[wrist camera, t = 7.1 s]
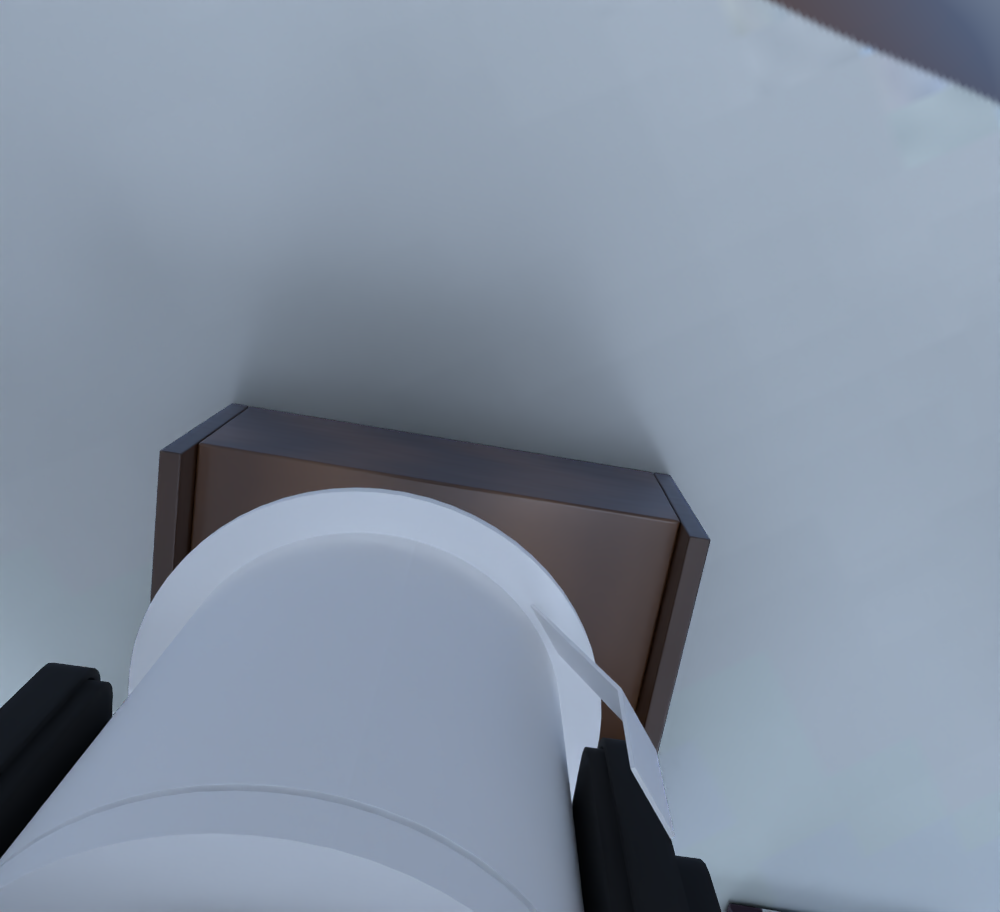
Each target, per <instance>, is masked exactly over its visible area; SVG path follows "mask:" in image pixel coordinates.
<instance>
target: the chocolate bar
mask: <svg viewBox="0 0 1000 912" xmlns="http://www.w3.org/2000/svg"><path fill="white" fill-rule="evenodd" d="M727 912H779V911H773V910H767V909H761V908H755V907H749V906H743V905H737V904H731V903H729V906H728V909H727Z"/></svg>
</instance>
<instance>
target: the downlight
mask: <svg viewBox="0 0 1000 912" xmlns="http://www.w3.org/2000/svg"><path fill="white" fill-rule="evenodd" d="M601 699H602V700H603V701H604V702H605V703H606V705H607V706H608V707H609V708H610V709H611V710H612V711H613V712H614V713H615V714H616V715H617V716H618V717H619V718H620V719H621V720H622V721H623V726H624V732H625V738H626V744H627V750H628V756H629V763H630V769H631V771H632V772H633V774H634V776H635V778H636V779H637V781H638V783H639V785H640V786H641V788H642V790H643V792H644V793H645V795H646V797H647V799H648V800H649V802H650V804H651V806H652V807H653V809H654V811H655V813H656V814H657V816H658V818H659V820H660V821H661V823H662V825H663V827H664V828H665V830H666V832H667V834H668V835H669V837H670V839H672V838H674V837H675V834H674V830H673V825H672V821H671V816H670V811H669V807H668V802H667V798H666V793H665V788H664V784H663V779H662V775H661V770H660V766H659V761H658V756H657V752H656V749H655V747H654V746H653V744H652V742H651V740H650V738H649V737H648V735H647V733H646V731H645V729H644V728H643V726H642V724H641V722H640V721H639V719H638V717H637V715H636V713H635V712H634V710H633V708H632V706H631V704H630V703H629V701H628V699H627V697H626V696H625V694H624V692H623V690H622V688H621V687H620V686H619V685H618V684H617V683H615V682H614V681H613V680H612V679H611V678H610V677H609V676H608V675H607V674H606V673H605V672H604V671H603V670H602V669H601V668H600V667H599V666H598V665H597V664H596V663H595V660H594V656H593V652H592V648H591V645H590V643H589V640H588V637H587V634H586V632H585V629H584V627H583V625H582V623H581V621H580V619H579V617H578V615H577V613H576V611H575V609H574V607H573V606H572V604H571V602H570V601H569V599H568V598H567V596H566V595H565V593H564V591H563V590H562V589H561V587H560V586H559V585H558V584H557V582H556V581H555V580H554V578H553V577H552V576H551V575H550V573H549V572H548V571H547V570H546V569H545V568H544V567H543V566H542V565H541V564H540V563H539V562H538V561H537V560H536V559H535V558H534V557H533V556H532V555H531V554H530V553H529V552H528V551H526V550H525V549H524V548H523V547H522V546H521V545H519V544H518V543H517V542H516V541H515V540H513V539H512V538H510V537H509V536H507V535H506V534H504V533H503V532H502V531H500V530H499V529H497V528H496V527H494V526H492V525H491V524H489V523H487V522H485V521H483V520H482V519H480V518H478V517H476V516H475V515H472V514H470V513H468V512H466V511H463V510H461V509H459V508H457V507H454V506H452V505H449V504H446V503H443V502H440V501H437V500H434V499H431V498H428V497H424V496H419V495H415V494H411V493H407V492H401V491H394V490H387V489H377V488H336V489H326V490H319V491H312V492H306V493H302V494H298V495H294V496H290V497H285V498H282V499H279V500H276V501H274V502H271V503H268V504H265V505H262V506H260V507H258V508H256V509H253V510H251V511H249V512H247V513H245V514H243V515H241V516H239V517H237V518H236V519H234V520H232V521H231V522H229V523H227V524H225V525H224V526H222V527H221V528H219V529H218V530H216V531H215V532H214V533H212V534H211V535H210V536H208V537H207V538H206V539H204V540H203V541H202V542H201V543H200V544H199V545H198V546H197V547H196V548H194V549H193V550H192V551H191V552H190V553H189V554H188V555H187V556H186V557H185V558H184V559H183V560H182V561H181V562H180V564H179V565H178V566H177V567H176V568H175V569H174V570H173V572H172V573H171V574H170V575H169V576H168V577H167V579H166V580H165V582H164V583H163V585H162V586H161V588H160V589H159V591H158V592H157V593H156V595H155V597H154V599H153V600H152V602H151V604H150V606H149V608H148V610H147V612H146V614H145V616H144V618H143V621H142V624H141V626H140V629H139V631H138V634H137V637H136V641H135V645H134V649H133V652H132V658H131V664H130V671H129V689H128V698H127V699H126V700H125V702H124V703H123V704H122V705H121V707H120V708H119V709H118V711H117V712H116V713H115V714H114V716H113V717H112V718H111V719H110V721H109V722H108V723H107V724H106V726H105V727H104V728H103V729H102V731H101V732H100V733H99V735H98V736H97V737H96V738H95V740H94V741H93V742H92V743H91V745H90V746H89V747H88V748H87V750H86V751H85V752H84V754H83V755H82V756H81V757H80V759H79V760H78V761H77V762H76V764H75V765H74V766H73V767H72V769H71V770H70V771H69V773H68V774H67V775H66V776H65V778H64V779H63V780H62V781H61V783H60V784H59V785H58V786H57V788H56V789H55V790H54V791H53V793H52V794H51V795H50V797H49V798H48V799H47V800H46V802H45V803H44V804H43V805H42V807H41V808H40V809H39V810H38V812H37V813H36V814H35V816H34V817H33V818H32V819H31V821H30V822H29V823H28V824H27V826H26V827H25V828H24V829H23V831H22V832H21V833H20V835H19V836H18V837H17V838H16V840H15V841H14V842H13V843H12V845H11V846H10V847H9V848H8V850H7V851H6V852H5V854H4V855H3V856H2V857H1V859H0V912H584V904H583V896H582V887H581V878H580V870H579V861H578V852H577V844H576V835H575V826H574V818H573V809H572V801H573V796H574V791H575V786H576V781H577V776H578V771H579V766H580V761H581V756H582V752H583V750H584V748H585V747H591V748H597V747H598V742H599V737H600V725H601Z"/></svg>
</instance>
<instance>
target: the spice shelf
mask: <svg viewBox="0 0 1000 912" xmlns="http://www.w3.org/2000/svg"><path fill="white" fill-rule="evenodd" d="M336 488H377V489H387V490H394V491H401V492H407V493H411V494H415V495H419V496H424V497H428V498H431V499H434V500H437V501H440V502H443V503H446V504H449V505H452V506H454V507H457V508H459V509H461V510H463V511H466V512H468V513H470V514H472V515H475V516H476V517H478V518H480V519H482V520H483V521H485V522H487V523H489V524H491V525H492V526H494V527H496V528H497V529H499V530H500V531H502V532H503V533H504V534H506V535H507V536H509V537H510V538H512V539H513V540H515V541H516V542H517V543H518V544H519V545H521V546H522V547H523V548H524V549H525V550H526V551H528V552H529V553H530V554H531V555H532V556H533V557H534V558H535V559H536V560H537V561H538V562H539V563H540V564H541V565H542V566H543V567H544V568H545V569H546V570H547V571H548V572H549V573H550V575H551V576H552V577H553V578H554V580H555V581H556V582H557V584H558V585H559V586H560V587H561V589H562V590H563V591H564V593H565V595H566V596H567V598H568V599H569V601H570V602H571V604H572V606H573V607H574V609H575V611H576V613H577V615H578V617H579V619H580V621H581V623H582V625H583V627H584V629H585V632H586V634H587V637H588V640H589V643H590V645H591V648H592V652H593V656H594V660H595V663H596V664H597V665H598V666H599V667H600V668H601V669H602V670H603V671H604V672H605V673H606V674H607V675H608V676H609V677H610V678H611V679H612V680H613V681H614V682H615V683H617V684H618V685H619V686H620V687H621V688H622V690H623V692H624V694H625V696H626V697H627V699H628V701H629V703H630V704H631V706H632V708H633V710H634V712H635V713H636V715H637V717H638V719H639V721H640V722H641V724H642V726H643V728H644V729H645V731H646V733H647V735H648V737H649V738H650V740H651V742H652V744H653V746H654V747H655V749H656V752H657V754H658V750H659V746H660V742H661V738H662V734H663V730H664V726H665V722H666V718H667V714H668V709H669V705H670V701H671V697H672V693H673V689H674V685H675V681H676V677H677V673H678V669H679V665H680V661H681V657H682V653H683V649H684V645H685V641H686V637H687V633H688V629H689V625H690V621H691V617H692V613H693V609H694V605H695V600H696V596H697V592H698V588H699V584H700V580H701V576H702V572H703V568H704V564H705V560H706V556H707V552H708V548H709V544H710V539H709V537H708V536H707V534H706V532H705V531H704V529H703V527H702V526H701V524H700V523H699V521H698V519H697V518H696V516H695V514H694V513H693V511H692V510H691V508H690V506H689V505H688V503H687V501H686V500H685V498H684V497H683V495H682V493H681V492H680V490H679V488H678V487H677V485H676V484H675V482H674V480H673V479H672V477H671V476H670V475H666V474H659V473H654V474H653V473H651V472H645V471H639V470H633V469H627V468H621V467H615V466H609V465H603V464H597V463H591V462H584V461H578V460H572V459H566V458H560V457H554V456H548V455H542V454H536V453H530V452H524V451H518V450H511V449H505V448H499V447H493V446H487V445H481V444H475V443H469V442H463V441H457V440H451V439H445V438H438V437H432V436H426V435H420V434H414V433H408V432H402V431H396V430H390V429H384V428H378V427H372V426H365V425H359V424H353V423H347V422H341V421H335V420H329V419H323V418H317V417H311V416H305V415H299V414H292V413H286V412H280V411H274V410H268V409H262V408H256V407H249V408H248V406H246V405H240V404H233V403H232V404H230V405H229V406H227V407H226V408H224V409H223V410H221V411H220V412H218V413H217V414H215V415H213V416H212V417H210V418H209V419H207V420H206V421H204V422H203V423H201V424H200V425H198V426H197V427H195V428H194V429H192V430H191V431H189V432H188V433H186V434H185V435H183V436H182V437H180V438H179V439H177V440H176V441H174V442H173V443H171V444H169V445H168V446H166V447H165V448H163V449H162V450H160V457H159V473H158V489H157V505H156V521H155V537H154V553H153V569H152V585H151V601H150V604H151V602H152V600H153V599H154V597H155V595H156V593H157V592H158V591H159V589H160V588H161V586H162V585H163V583H164V582H165V580H166V579H167V577H168V576H169V575H170V574H171V573H172V572H173V570H174V569H175V568H176V567H177V566H178V565H179V564H180V562H181V561H182V560H183V559H184V558H185V557H186V556H187V555H188V554H189V553H190V552H191V551H192V550H193V549H194V548H196V547H197V546H198V545H199V544H200V543H201V542H202V541H203V540H204V539H206V538H207V537H208V536H210V535H211V534H212V533H214V532H215V531H216V530H218V529H219V528H221V527H222V526H224V525H225V524H227V523H229V522H231V521H232V520H234V519H236V518H237V517H239V516H241V515H243V514H245V513H247V512H249V511H251V510H253V509H256V508H258V507H260V506H262V505H265V504H268V503H271V502H274V501H276V500H279V499H282V498H285V497H290V496H294V495H298V494H302V493H306V492H312V491H319V490H326V489H336ZM602 737H604V738H611V739H618V740H626V738H625V732H624V726H623V721H622V720H621V719H620V718H619V717H618V716H617V715H616V714H615V713H614V712H613V711H612V710H611V709H610V708H609V707H608V706H607V705H606V703H605V702H604V701H603V700H602V699H601V725H600V737H599V742H600V739H601V738H602ZM599 742H598V744H599ZM597 748H598V747H597Z"/></svg>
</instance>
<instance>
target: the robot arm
mask: <svg viewBox="0 0 1000 912" xmlns="http://www.w3.org/2000/svg"><path fill="white" fill-rule="evenodd" d="M112 699H113V692H112V686H111V684H110V683H109V682H103V681H101V680H100V675H99V671H98V670H96V669H95V668H88V667H81V666H73V665H66V664H59V663H48V664H47V665H45V666H44V667H42V668H41V669H40V670H39V671H38V672H37V673H36V674H35V675H34V676H33V677H32V678H31V679H30V680H29V681H28V682H27V683H26V684H25V685H24V686H23V687H22V688H21V689H20V690H19V691H18V692H17V693H16V694H15V695H14V696H13V697H12V698H11V699H10V700H9V701H7V702H6V703H5V704H4V705H3V706H2V707H1V708H0V859H1V857H2V856H3V855H4V854H5V852H6V851H7V850H8V848H9V847H10V846H11V845H12V843H13V842H14V841H15V840H16V838H17V837H18V836H19V835H20V833H21V832H22V831H23V829H24V828H25V827H26V826H27V824H28V823H29V822H30V821H31V819H32V818H33V817H34V816H35V814H36V813H37V812H38V810H39V809H40V808H41V807H42V805H43V804H44V803H45V802H46V800H47V799H48V798H49V797H50V795H51V794H52V793H53V791H54V790H55V789H56V788H57V786H58V785H59V784H60V783H61V781H62V780H63V779H64V778H65V776H66V775H67V774H68V773H69V771H70V770H71V769H72V767H73V766H74V765H75V764H76V762H77V761H78V760H79V759H80V757H81V756H82V755H83V754H84V752H85V751H86V750H87V748H88V747H89V746H90V745H91V743H92V742H93V741H94V740H95V738H96V737H97V736H98V735H99V733H100V732H101V731H102V729H103V728H104V727H105V726H106V724H107V723H108V722H109V721H110V719H111V718H112ZM572 809H573V818H574V826H575V835H576V844H577V852H578V861H579V870H580V878H581V887H582V896H583V904H584V912H721V909H720V906H719V903H718V899H717V896H716V893H715V890H714V887H713V883H712V880H711V877H710V874H709V871H708V869H707V867H706V864H705V863H704V862H703V861H702V860H701V859H697V858H689V857H681V856H675V853H674V849H673V845H672V841H671V839H670V837H669V835H668V834H667V832H666V830H665V828H664V827H663V825H662V823H661V821H660V820H659V818H658V816H657V814H656V813H655V811H654V809H653V807H652V806H651V804H650V802H649V800H648V799H647V797H646V795H645V793H644V792H643V790H642V788H641V786H640V785H639V783H638V781H637V779H636V778H635V776H634V774H633V772H632V771H631V769H630V763H629V756H628V750H627V744H626V740H618V739H611V738H604V737H602V738H601V739H600V742H599V744H598V748H591V747H585V748H584V750H583V752H582V756H581V761H580V766H579V771H578V776H577V781H576V786H575V791H574V796H573V801H572Z"/></svg>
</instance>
